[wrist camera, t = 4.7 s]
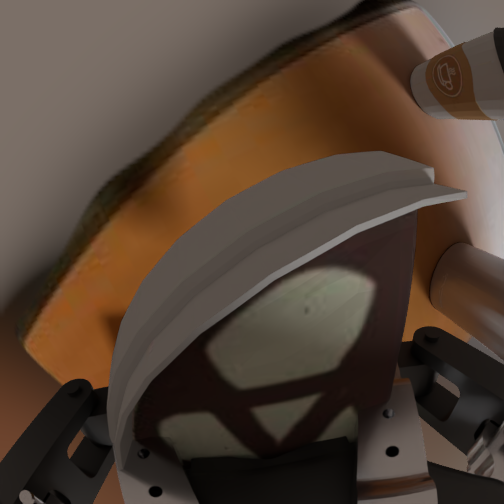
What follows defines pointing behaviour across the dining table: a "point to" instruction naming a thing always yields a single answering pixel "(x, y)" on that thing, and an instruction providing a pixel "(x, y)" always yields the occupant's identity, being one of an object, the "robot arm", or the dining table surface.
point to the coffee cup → (463, 80)
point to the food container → (274, 312)
